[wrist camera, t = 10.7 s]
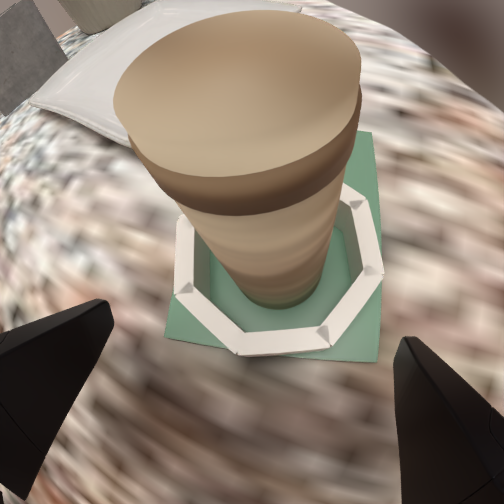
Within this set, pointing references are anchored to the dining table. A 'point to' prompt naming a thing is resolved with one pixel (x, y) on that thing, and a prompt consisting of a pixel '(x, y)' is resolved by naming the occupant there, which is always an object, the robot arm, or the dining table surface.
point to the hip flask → (25, 54)
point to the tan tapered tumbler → (250, 139)
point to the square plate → (125, 60)
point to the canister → (99, 12)
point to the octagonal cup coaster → (308, 312)
